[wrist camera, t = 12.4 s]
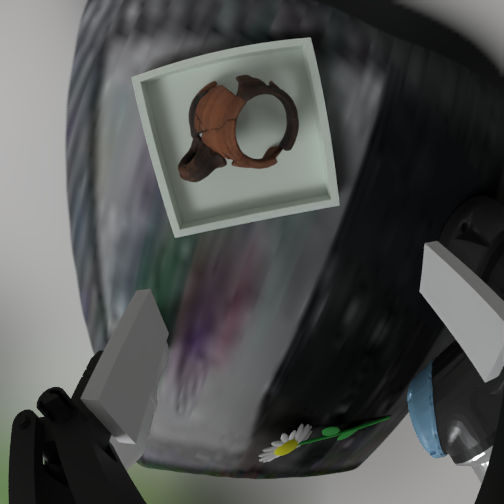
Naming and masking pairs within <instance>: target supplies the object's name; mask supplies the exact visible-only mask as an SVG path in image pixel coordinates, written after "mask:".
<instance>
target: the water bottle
mask: <svg viewBox="0 0 504 504" xmlns="http://www.w3.org/2000/svg"><path fill="white" fill-rule="evenodd" d="M168 356H169V349H168V344H167V341H166V344H165V347H164V350H163V353H162V357H161V360H160V363H159V366H158V369H157V373H156V376H155V379H154V382H153V386H152V389H151V393H150V396H149V399H148V403H147V406H146V410H145V413H144V417H143V420H142V424H141V428H140V431H139V435H138V439H137V442H136V444H129V443H120V442H118V441H117V440H116V439H115V438H114V437H113V436H112V435H111V438H110V441H109V442H110V443H111V444H112V445H113V447H114V449H115V451H116V453H117V454H118V456H119V458H120V460H121V462H122V464H123V466H124V467H125V469H126V471H127V469H128V468H130V467H131V466H132V465H133V464H134V463H135V462H136V461H137V460H138V459H139V458H140V457H141V456H142V455H143V453H144V452H145V450H146V448H147V446H148V443H149V434H150V429H151V425H152V420H153V416H154V412H155V410H156V407H157V389H158V383H159V380H160V377H161V375H162V373H163V371H164V370H165V368H166V365H167V361H168Z"/></svg>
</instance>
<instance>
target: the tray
mask: <svg viewBox="0 0 504 504" xmlns="http://www.w3.org/2000/svg"><path fill="white" fill-rule="evenodd" d="M241 75H250V76H251V77H253V78H258V79H260V80H261V81H263V82H264V83H265V84H266V85H269V82H270V81H272V82H274V83H275V84H276V85H277V86H278V87H279V88H280V89H282V90H284V91H285V92H286V93H287V94H288V95H289V96H290V97H291V98H292V100H293V101H294V103H295V106H296V108H297V112H298V118H299V130H298V135H297V138H296V141H295V143H294V145H293V148H292V149H291V150H289V151H285V150H284V149H283V150H282V151H281V152H280V154H279V155H278V156H277V157H276V159H277V163H276V164H275V165H273V166H271V167H268V168H263V169H254V168H243V167H236V166H233V165H232V161H233V160H231V159H226V158H225V159H226V161H227V165H226V166H225V167H222V168H217V169H215V170H214V171H213V172H212V173H211V174H210V175H209V176H207V177H206V178H204V179H203V180H201V181H199V182H189V181H185V180H183V179H182V178H181V177H180V175H179V171H178V164H179V163H180V161H181V159H182V158H183V157H184V155H185V154H186V153H187V152H188V151H189V149H190V147H191V144H192V141H193V138H192V137H191V131H190V125H189V109H190V105H191V102H192V100H193V99H194V97H195V96H196V94H197V93H198V92H199V91H200V90H201V89H202V88H203V87H205V86H206V85H207V84H209V83H211V82H213V81H216V82H217V85H216V86H220V85H223V86H224V87H225V88H227V89H228V90H229V91H231V92H232V93H233V94H234V95H236V94H237V91H238V83H239V82H238V81H237V80H236V77H237V76H241ZM131 78H132V83H133V87H134V92H135V96H136V101H137V105H138V109H139V113H140V117H141V122H142V126H143V130H144V133H145V137H146V141H147V145H148V149H149V152H150V156H151V160H152V163H153V167H154V171H155V174H156V178H157V181H158V185H159V188H160V191H161V195H162V198H163V201H164V205H165V208H166V211H167V215H168V218H169V221H170V224H171V227H172V230H173V233H174V237H175V238H178V237H182V236H187V235H192V234H196V233H201V232H206V231H210V230H215V229H220V228H225V227H230V226H234V225H239V224H244V223H249V222H254V221H259V220H264V219H269V218H275V217H280V216H285V215H290V214H295V213H301V212H306V211H312V210H317V209H322V208H328V207H334V206H339V196H338V187H337V179H336V171H335V163H334V156H333V149H332V142H331V136H330V130H329V123H328V118H327V112H326V106H325V101H324V96H323V90H322V85H321V81H320V76H319V71H318V66H317V62H316V57H315V53H314V49H313V45H312V41H311V37H310V38H298V39H289V40H280V41H272V42H265V43H259V44H253V45H247V46H242V47H236V48H231V49H226V50H222V51H217V52H213V53H209V54H205V55H201V56H197V57H193V58H189V59H186V60H182V61H179V62H175V63H172V64H169V65H166V66H163V67H159V68H156V69H153V70H150V71H148V72H145V73H142V74H139V75H136V76H134V77H131ZM210 90H211V89H210ZM210 90H209V91H210ZM209 91H208V92H209ZM286 125H287V119H286V112H285V109H284V106H283V104H282V103H281V102H280V101H279V99H277V98H276V97H275V96H273V95H269V94H262V95H258V96H255V97H254V98H252V99H250V100H249V101H247V103H246V104H245V106H244V107H243V108H242V110H241V111H240V113H239V116H238V118H237V122H236V139H237V143H238V145H239V147H240V149H241V151H242V152H243V153H244V154H245V155H247V156H248V157H250V158H254V159H261V158H263V155H264V154H265V152H266V151H267V149H269V148H270V147H274V146H278V145H279V143H280V142H281V140H282V138H283V136H284V134H285V131H286ZM200 137H202V133H201V134H200Z"/></svg>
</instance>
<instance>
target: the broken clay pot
mask: <svg viewBox="0 0 504 504" xmlns="http://www.w3.org/2000/svg"><path fill="white" fill-rule="evenodd" d="M236 80H237V81H238V82H239V83H238V91H237V94H236V95H234V94H233V93H232V92H231V91H229V90H228V89H227V88H225V87H224V86H223V85H220V86H216V85H217V82H216V81H213V82H211V83H209V84H207V85H206V86H205V87H203V88H202V89H201V90H200V91H199V92H198V93H197V94H196V96H195V97H194V99H193V100H192V102H191V105H190V109H189V125H190V131H191V137H192V138H193V141H192V144H191V147H190V149H189V151H188V152H187V153H186V154H185V155H184V157H183V158H182V159H181V161H180V163H179V164H178V171H179V175H180V177H181V178H182V179H183V180H185V181H189V182H199V181H201V180H203V179H204V178H206V177H207V176H209V175H210V174H211V173H212V172H213V171H214V170H215V169H217V168H222V167H225V166H226V165H227V161H226V159H231V160H233V161H232V165H233V166H236V167H243V168H254V169H263V168H268V167H271V166H273V165H275V164H276V163H277V159H276V157H277V156H278V155H279V154H280V152H281V151H282V150H283V149H284V150H285V151H289V150H291V149H292V148H293V145H294V143H295V141H296V138H297V135H298V130H299V118H298V112H297V108H296V106H295V103H294V101H293V100H292V98H291V97H290V96H289V95H288V94H287V93H286V92H285V91H284V90H282V89H280V88H279V87H278V86H277V85H276V84H275V83H274V82H272V81H270V82H269V85H266V84H265V83H264V82H263V81H261V80H260V79H258V78H253V77H251V76H250V75H241V76H237V77H236ZM210 89H211V90H210ZM209 90H210V91H209ZM208 91H209V92H208ZM262 94H269V95H273V96H275V97H276V98H277V99H279V101H280V102H281V103H282V104H283V106H284V109H285V112H286V119H287V125H286V131H285V134H284V136H283V138H282V140H281V142H280V143H279V145H278V146H274V147H270V148H269V149H267V151H266V152H265V154H264V155H263V158H261V159H254V158H250V157H248V156H247V155H245V154H244V153H243V152H242V151H241V149H240V147H239V145H238V143H237V139H236V122H237V118H238V116H239V113H240V111H241V110H242V108H243V107H244V106H245V104H246V103H247V101H249V100H250V99H252V98H254V97H255V96H258V95H262ZM201 133H202V137H200V134H201ZM225 158H226V159H225Z"/></svg>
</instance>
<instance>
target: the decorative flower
mask: <svg viewBox="0 0 504 504" xmlns="http://www.w3.org/2000/svg"><path fill="white" fill-rule="evenodd" d="M389 418H390V416H386V417H383V418H380V419H377V420H375V421H372V422H369V423H366V424H363V425H360V426H357V427H353V428H350V429H347V430H343V431H340V429H339V428H338V427H328V428H326V429H324V430H323V431H322V434H323V435H325V436H321V437H317V438H313V439H309V440H307V439H308V437H309V436H310V434H311V433H312V431H310V429H311V428H312V426H310V427H309V424H308V425H306V426H305V427H304V429H303V424H301V425H300V426H299V428H298V430H297V432H296V430H293V432H292V433H291V434H290V436H288V435H287V434H286V433H284V434H282V435H281V440H280V441H274V442H272V443H271V444H272V445H273V446H271V447H268V448H266V449H264V450H263V451H264V453H262V454H260V455H259V457H262V456H264V457H262V458H261V459H260V460H259V461H263V460H264V461H263V462H266V461H268V462H269V461H271V460H273V459H274V458H277V457H279V456H281V455H285V454H288V453H290V452H291V451H293V450H294V449H295V448H298V447H299V446H301V445H302V444H307V443H311V442H315V441H319V440H323V439H327V438H331V437H334V436H338V435H341V434H342V435H341V436H339V437H338V439H337V440H342V439H345V438H347V437H349V436H350V435H352V434H353V433H355V432H356V431H357V430H358V429H361V428H364V427H367V426H370V425H373V424H375V423H378V422H381V421H384V420H387V419H389ZM309 431H310V432H309ZM339 431H340V432H339Z"/></svg>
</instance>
